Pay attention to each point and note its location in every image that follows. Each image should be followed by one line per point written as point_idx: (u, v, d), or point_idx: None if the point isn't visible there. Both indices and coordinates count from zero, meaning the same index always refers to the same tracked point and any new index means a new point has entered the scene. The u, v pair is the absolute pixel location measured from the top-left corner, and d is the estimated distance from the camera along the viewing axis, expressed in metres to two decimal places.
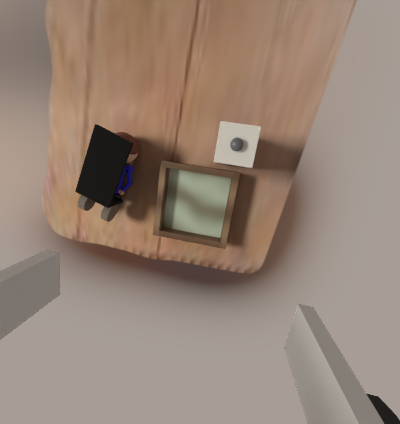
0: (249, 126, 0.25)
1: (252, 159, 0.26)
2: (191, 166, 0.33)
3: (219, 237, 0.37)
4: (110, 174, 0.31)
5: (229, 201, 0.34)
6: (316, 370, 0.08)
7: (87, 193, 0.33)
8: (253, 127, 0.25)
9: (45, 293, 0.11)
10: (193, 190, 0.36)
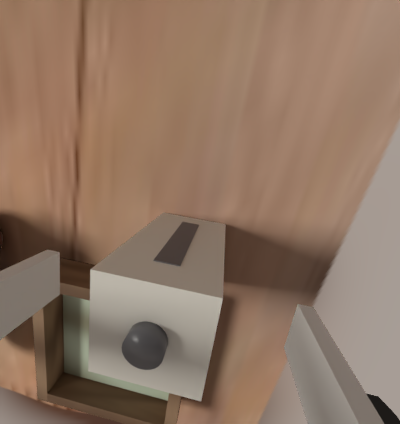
0: (184, 294, 0.07)
1: (200, 381, 0.08)
2: None
3: (167, 400, 0.19)
4: None
5: None
6: (316, 371, 0.08)
7: None
8: (198, 298, 0.07)
9: (45, 293, 0.11)
10: None
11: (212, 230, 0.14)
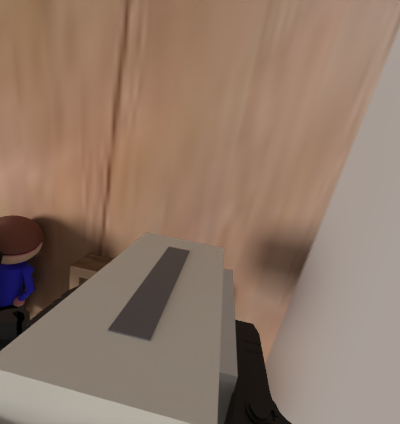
0: (146, 418, 0.04)
1: None
2: None
3: None
4: None
5: None
6: None
7: None
8: None
9: None
10: None
11: (206, 260, 0.11)
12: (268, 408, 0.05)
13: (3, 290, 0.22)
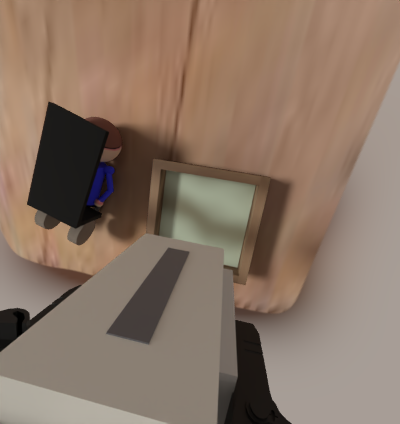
0: None
1: None
2: (198, 167, 0.22)
3: (236, 266, 0.26)
4: (76, 179, 0.21)
5: (253, 219, 0.23)
6: None
7: (44, 207, 0.22)
8: None
9: None
10: (200, 201, 0.25)
11: (206, 261, 0.11)
12: (268, 408, 0.05)
13: None
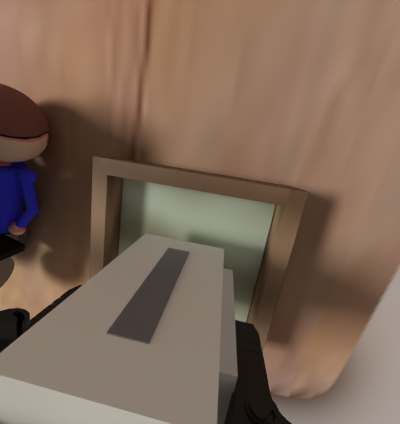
0: (145, 423, 0.04)
1: None
2: (173, 172, 0.12)
3: None
4: None
5: (273, 265, 0.13)
6: None
7: None
8: None
9: None
10: (181, 228, 0.15)
11: (206, 261, 0.11)
12: (268, 408, 0.05)
13: None
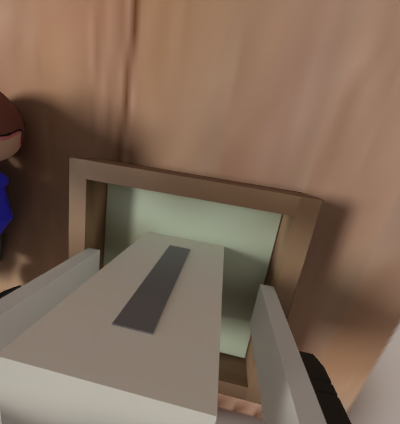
0: (150, 405, 0.04)
1: None
2: (162, 176, 0.10)
3: (242, 356, 0.14)
4: None
5: (280, 284, 0.11)
6: (266, 336, 0.09)
7: None
8: (173, 412, 0.04)
9: None
10: None
11: (206, 258, 0.11)
12: None
13: None
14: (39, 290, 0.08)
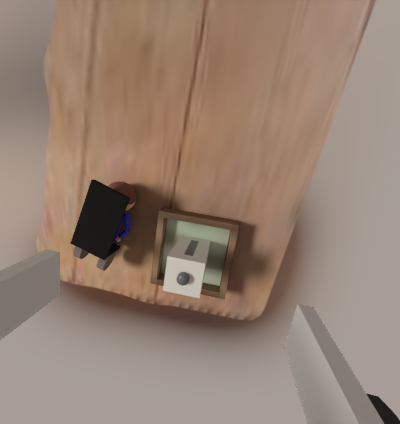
0: (194, 262, 0.26)
1: (199, 291, 0.27)
2: (189, 217, 0.33)
3: (218, 285, 0.36)
4: (107, 227, 0.31)
5: (228, 252, 0.33)
6: (316, 371, 0.08)
7: (83, 245, 0.32)
8: (198, 263, 0.26)
9: (45, 293, 0.11)
10: None
11: (204, 244, 0.33)
12: None
13: None
14: None
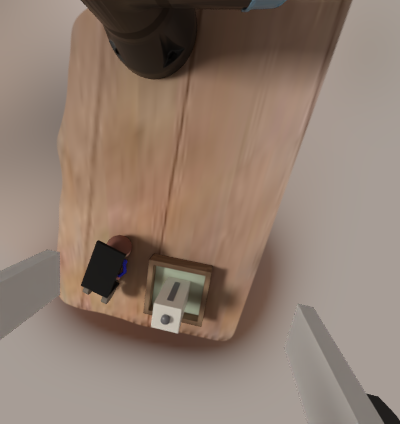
0: (173, 308, 0.35)
1: (177, 328, 0.36)
2: (173, 265, 0.42)
3: (197, 314, 0.46)
4: (109, 275, 0.40)
5: (203, 292, 0.42)
6: (316, 371, 0.08)
7: (90, 287, 0.41)
8: (176, 309, 0.35)
9: (45, 293, 0.11)
10: None
11: (184, 285, 0.42)
12: None
13: None
14: None
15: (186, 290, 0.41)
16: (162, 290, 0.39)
